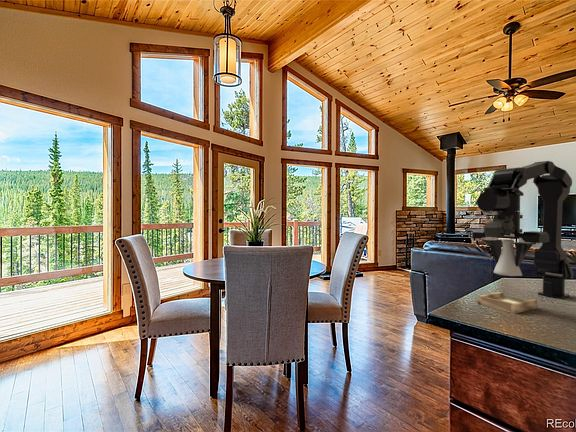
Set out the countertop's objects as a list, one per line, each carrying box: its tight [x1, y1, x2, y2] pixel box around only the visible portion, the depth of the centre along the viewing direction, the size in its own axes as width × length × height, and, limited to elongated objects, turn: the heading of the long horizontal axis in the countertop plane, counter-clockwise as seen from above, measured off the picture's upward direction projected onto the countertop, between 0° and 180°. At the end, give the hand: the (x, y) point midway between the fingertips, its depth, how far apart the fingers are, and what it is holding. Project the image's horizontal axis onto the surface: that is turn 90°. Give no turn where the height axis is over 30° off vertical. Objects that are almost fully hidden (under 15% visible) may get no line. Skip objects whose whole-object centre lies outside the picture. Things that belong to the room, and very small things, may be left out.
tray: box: [477, 291, 538, 314], centre depth 98 cm, size 11×10×2 cm
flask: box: [493, 239, 523, 277], centre depth 97 cm, size 7×7×10 cm
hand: (507, 264), depth 98 cm, fingers closed on flask, 5 cm apart
